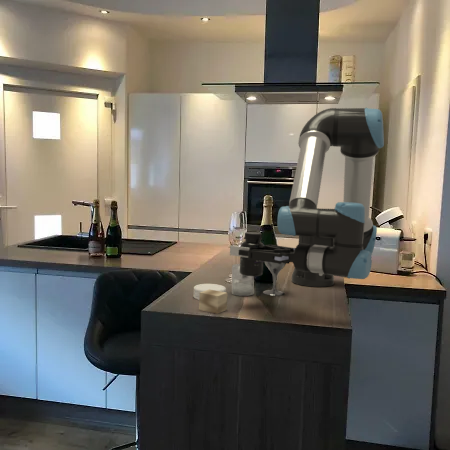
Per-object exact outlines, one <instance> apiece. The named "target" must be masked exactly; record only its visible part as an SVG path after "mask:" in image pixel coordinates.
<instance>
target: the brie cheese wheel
mask: <svg viewBox="0 0 450 450" xmlns="http://www.w3.org/2000/svg"><path fill="white" fill-rule="evenodd" d="M209 289H210V290H215V291H221V292H227V288H226V286H224V285H221V284H216V283H201V284H196V285H195V286H193V294H192V296H193V299H196V300H198V301H199V296H200V292H203V291H206V290H209Z"/></svg>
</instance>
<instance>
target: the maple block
mask: <svg viewBox="0 0 450 450" xmlns="http://www.w3.org/2000/svg"><path fill="white" fill-rule="evenodd" d="M198 303H199V304H198V310H199V311H203V312H208V313H210V314H211V313H212V314H217V315H218V314H220V313H222V312H224V311H228V308H227V307H228V292H227V291H225V292H221V291H215V290H210V289H209V290H206V291H203V292H200V296H199V300H198Z"/></svg>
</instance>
